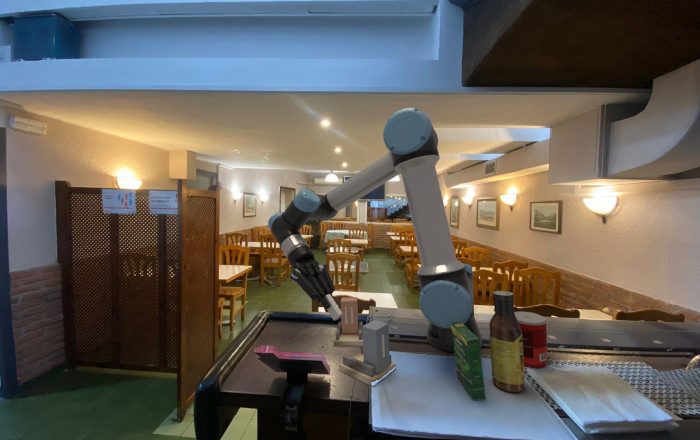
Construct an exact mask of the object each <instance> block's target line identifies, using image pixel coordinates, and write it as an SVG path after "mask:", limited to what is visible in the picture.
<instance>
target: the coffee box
mask: <svg viewBox="0 0 700 440" xmlns="http://www.w3.org/2000/svg"><path fill="white" fill-rule="evenodd" d="M451 332H452V339H453V347H454V352H453V355H454V361H455V370H456V376H457V380H458V381H459V383H460V384H461V386H462V387H463V389H464V390H465V392H467V394H468V396H469V397H470V399H471V400H472V401H474V402H475V401H486V391H485V390H486V389H485V382H484V371H483V364H482V353H481V348H480V343H479V338H478V337H477V336H475V335H474V334H473V333H472V332H471V331H470V330H469V329H468V328H467V327H466V326H465V325H464V324H462V323H454V324H451Z"/></svg>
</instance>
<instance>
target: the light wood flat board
mask: <svg viewBox="0 0 700 440" xmlns="http://www.w3.org/2000/svg"><path fill="white" fill-rule="evenodd" d="M363 323H364V322H363V321H359V322H358V333H342V324H341V321H338V324H337V328H336V331H335V334H334V335H335V336H334V338H333V347H360V351H359V352H357V353H356V354H354V355H351V356H349V355H347V354H344V355H342V362H341V363H338V370H339V371H340V372H342V373H344V374H345V375H348V376H350V377H352V378H354V379H356V380H358V381H360V382H363V383H364V384H366V385H369V386H370V384H371V382H374V381H376V380H379V379H381V378H382V377H383V376H384V375H386V374H387V373H388V372H389V371H390V370H392V369H393V368H394V367H395V366H397V365H396V362H393V361H392V355H391V354H390V365H389V366H388V367H387V368H385V369H384V370H383V371H381V372H380V373H379V374H376V373H375V369H374V366H371V365H369V364H366V363H364V357H363V332H362V326H364V324H363Z"/></svg>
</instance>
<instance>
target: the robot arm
mask: <svg viewBox="0 0 700 440" xmlns="http://www.w3.org/2000/svg"><path fill="white" fill-rule="evenodd" d="M382 138H383V141H384V144H385V147H386V149H387V150H388V152H387V153H386V154H384V155H383V156H381V157H380V158H378V159H377V160H375V161H374V162H372V163H371V164H369V165H368V166H366V167H365V168H363V169H362V170H360V171H359V172H358V173H356V174H354V175H352V176H351V177H349V178H348V179H347V180H345V181H344V182H342V183H340V184H339V185H337V186H336V187H334V188H333V189H331V190H330V191H328V192H327V193H325V194H324V195H323V196H320V197H319V195H317V194H316V193H315V192H313V191H312V190H310V189H307V188H302V189H301V190H300V191H299V192H298V193H297V194H296V195H295V196H294V198H293V199H292V200H291V202H290V203H289V204H288V206H287V208H286V209H285V211H279V212H276V213H274V215H270V218H269V219H268V221H267V226H268V227H269V230H270V233H271V235H272V236H273V237H274V239H275V241H277V243H278V245H279V247H280V248H281V250H282V252H283V254H284V256H285V257H286V259H287V260H288V261H287V262H288V263H289V264H290V266H291V268H293V271H292V272H291V275H290V276H289V278H290V279H291V280H293V281H294V282H296V283H297V285H298V286H299V287H301V289H302V290H303V291H304V292H305V293H306V295H307V296H308V297H309V298H310V299H311V300H312V301H316V302H317V303H321V305H322V306H323V308H324V309H325V310H327V311H328V313H329V315H330V317H331V318H332V320H333V321H337V320H339V318H341V315H342V312H341V308H340V307H339V305H338V302H337V300H336V299H335V297H334V295H333V293H334V292H335V291H336V288H335V285H334V283H333V280H332V277H331V276H330V273H329V271H328V265H327V263H324V264H323V265H322V264H320V262H318V260H316V258H315V254H314V252H313V251H312V249H311V248H310V247H309V245H308V243H307V242H306V240H305V239H304V237H303V236H302V234H301V232H300V230H301V229H302V228H303V227H304V225H306V223H307V222H308V221H314V220H315V221H316V220H323V221H324V220H325V221H326V220H327V221H328V220H331V219H333V218H335V217H336V215H337V214H338V212H339V211H341V210H343V209H344V208H347V207H348V206H349V205H352V204H353V203H354V202H356V201H358V200H359V199H361V198H363V197H365V196H366V195H368V194H369V193H371V192H373V191H374V190H376V189H378V188H379V187H380V186H383V185H384V184H386V183H387V182H389V181H390V180H392V179H394V178H395V177H398V176H399V175H401V178H402V183H403V186H404V192H405V196H406V201H407V205H408V210H409V214H410V219H411V223H412V228H413V232H414V238H415V241H416V247H417V251H418V256H419V259H420V266H419V268H418V270H417V271H416V274H417V279H418V284H419V285H418V286H419V288H420V292H419V297H418V304H419V309H420V312H421V314H422V315H423V316H424V318H425V319H426V320H427V321H428V326H427V329H426V340H427V342H428V343H429V344H430V345H431V346H432V347H435V348H437V349H439V350H442V351H444V352H450V353H454V347H453V339H452V332H451V324H454V323H462V324H464V325H465V326H466V327H467V328H468V329H469V330H470V331H471V332H472V333H473V334H474V335H475V336H477V337H478V338H479V343H480V349H482V347H483V337H482V333H481V330H480V329H479V325H478V323H477V320H476V317H475V303H474V301H475V300H474V299H475V297H474V280H473V279H474V272H473V266H472V265H470V264H469V263H462V262H461V261H460V260H458V259H457V256H456V252H455V247H454V243H453V240H452V234H451V230H450V225H449V221H448V216H447V212H446V208H445V203H444V200H443V196H442V195H443V194H442V191H441V187H440V181H439V177H438V174H437V173H438V172H437V168H436V166H437V164H438V162H439V161H440V159H441V158H440V157H441V156H440V153H439V149H438V146H439V139H438V134H437V131H436V130H435V128H434V126H433V125H432V121H431V119H430V117H429V116H428V115H427V114H426V113H425V112H424V111H422V110H421V109H419V108H415V107H405V108H401V109H399V110H397V111H395V113H393V114H392V115H391V116H390V117H389V118H388V120H387V121H386V123H385V124H384V127H383V131H382Z"/></svg>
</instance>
